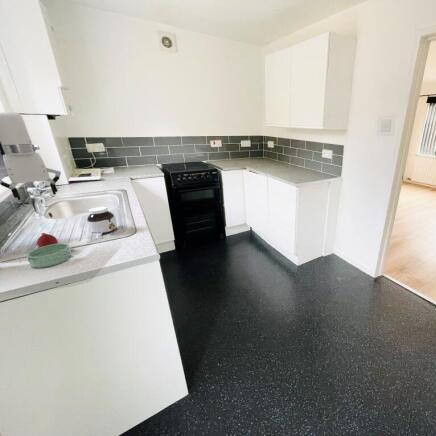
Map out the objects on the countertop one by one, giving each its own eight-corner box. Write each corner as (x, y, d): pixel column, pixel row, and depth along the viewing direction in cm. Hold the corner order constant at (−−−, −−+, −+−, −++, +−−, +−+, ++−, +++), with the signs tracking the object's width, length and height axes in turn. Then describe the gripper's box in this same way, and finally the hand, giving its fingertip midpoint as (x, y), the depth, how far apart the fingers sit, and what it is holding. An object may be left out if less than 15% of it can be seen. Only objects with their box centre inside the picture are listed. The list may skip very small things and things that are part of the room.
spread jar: (100, 237, 111) (92, 212, 107) (82, 234, 114) (75, 210, 110) (124, 227, 122) (118, 205, 118) (107, 225, 125) (101, 203, 121)
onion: (58, 246, 103) (52, 228, 100) (61, 250, 99) (54, 232, 97) (39, 251, 99) (32, 233, 96) (42, 255, 95) (34, 236, 92)
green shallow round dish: (23, 270, 85) (17, 259, 83) (44, 255, 95) (40, 245, 94) (61, 266, 87) (57, 255, 86) (78, 251, 98) (74, 241, 96)
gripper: (51, 148, 95) (66, 190, 101) (-18, 151, 83) (4, 199, 89) (53, 148, 90) (69, 193, 96) (-19, 152, 78) (3, 203, 84)
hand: (37, 196), depth 93 cm, fingers open, 9 cm apart
